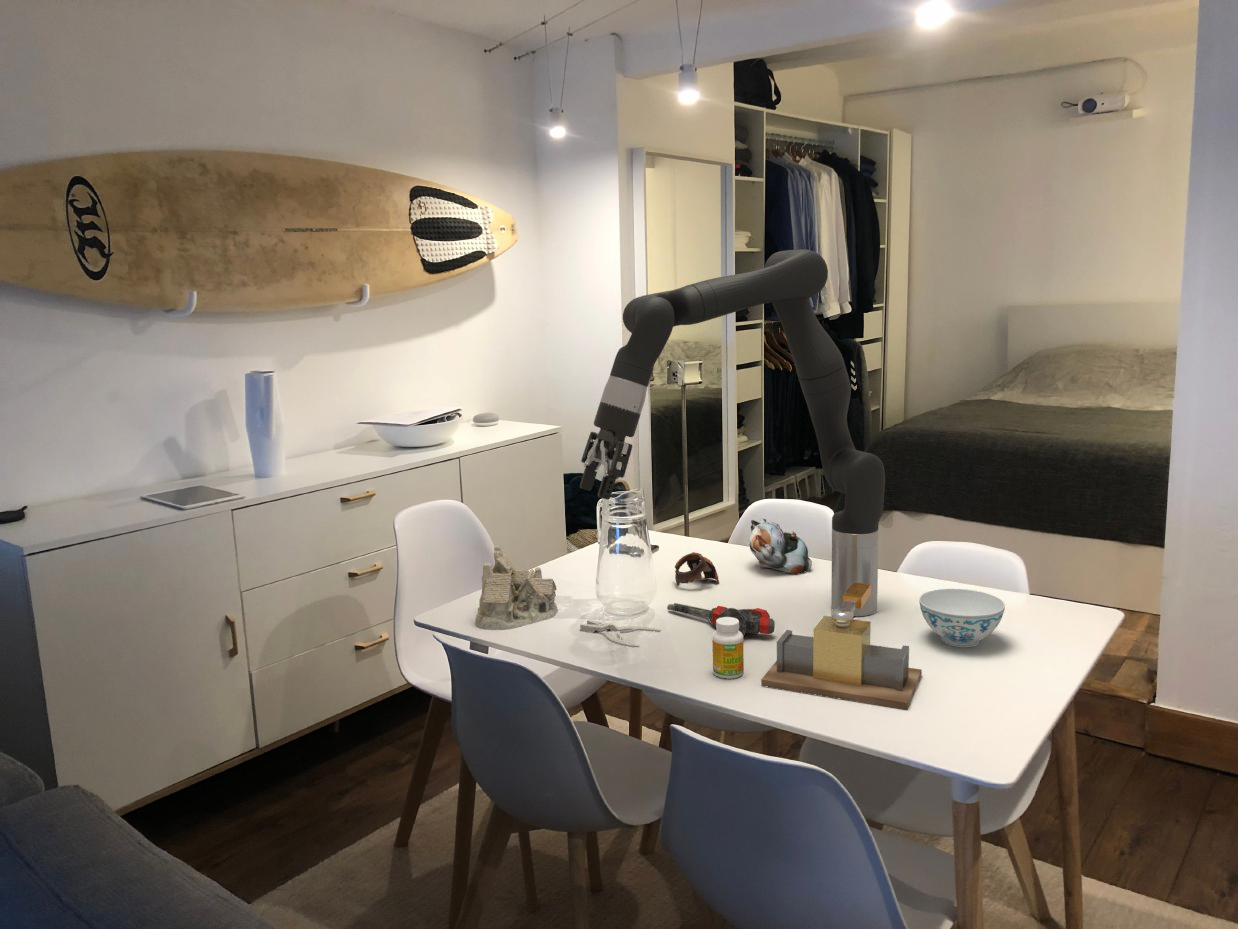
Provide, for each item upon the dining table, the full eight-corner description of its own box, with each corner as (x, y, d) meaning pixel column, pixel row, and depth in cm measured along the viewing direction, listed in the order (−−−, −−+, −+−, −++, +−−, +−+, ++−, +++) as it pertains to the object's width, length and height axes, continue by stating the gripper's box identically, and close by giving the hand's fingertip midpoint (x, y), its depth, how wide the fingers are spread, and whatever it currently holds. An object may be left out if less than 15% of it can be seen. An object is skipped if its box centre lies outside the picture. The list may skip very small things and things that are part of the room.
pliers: (637, 642, 178) (570, 630, 186) (637, 650, 179) (571, 637, 186) (661, 625, 187) (596, 614, 194) (661, 632, 187) (597, 621, 194)
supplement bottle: (722, 682, 162) (721, 628, 160) (707, 670, 167) (706, 618, 165) (749, 675, 164) (749, 622, 162) (733, 665, 169) (733, 613, 167)
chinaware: (941, 620, 187) (942, 583, 185) (1017, 639, 176) (1019, 599, 175) (903, 642, 177) (904, 603, 175) (981, 663, 166) (982, 621, 165)
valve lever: (850, 625, 156) (850, 614, 156) (829, 623, 158) (829, 611, 158) (871, 594, 171) (872, 584, 171) (851, 592, 173) (852, 582, 172)
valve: (801, 637, 187) (756, 648, 176) (700, 614, 205) (653, 623, 194) (803, 605, 187) (758, 614, 176) (701, 585, 205) (655, 593, 194)
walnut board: (785, 656, 172) (785, 649, 172) (921, 676, 162) (921, 669, 161) (761, 686, 160) (761, 679, 160) (907, 709, 149) (907, 702, 149)
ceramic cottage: (464, 627, 192) (465, 556, 190) (498, 604, 208) (499, 537, 205) (535, 638, 188) (537, 565, 185) (564, 613, 203) (566, 545, 201)
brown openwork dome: (726, 590, 211) (711, 563, 208) (688, 609, 212) (673, 582, 209) (714, 562, 222) (700, 536, 219) (679, 580, 223) (664, 555, 220)
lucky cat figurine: (814, 576, 217) (790, 529, 212) (766, 593, 221) (741, 548, 215) (809, 541, 231) (786, 496, 225) (763, 558, 234) (740, 514, 229)
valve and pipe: (787, 660, 168) (787, 606, 166) (908, 678, 159) (910, 621, 157) (776, 675, 162) (775, 619, 160) (901, 695, 153) (902, 636, 151)
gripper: (656, 416, 162) (628, 506, 162) (623, 407, 174) (597, 491, 175) (618, 404, 158) (590, 496, 159) (587, 396, 171) (561, 481, 172)
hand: (593, 493), depth 167 cm, fingers open, 8 cm apart
